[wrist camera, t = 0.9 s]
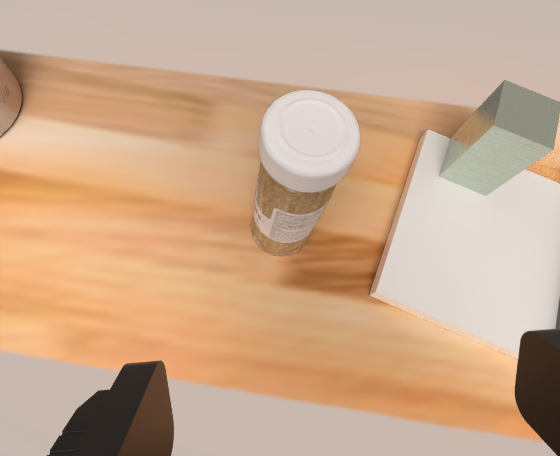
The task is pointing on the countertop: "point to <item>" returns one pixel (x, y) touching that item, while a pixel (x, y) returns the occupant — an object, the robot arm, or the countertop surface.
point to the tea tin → (501, 139)
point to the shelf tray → (474, 253)
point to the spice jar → (300, 166)
